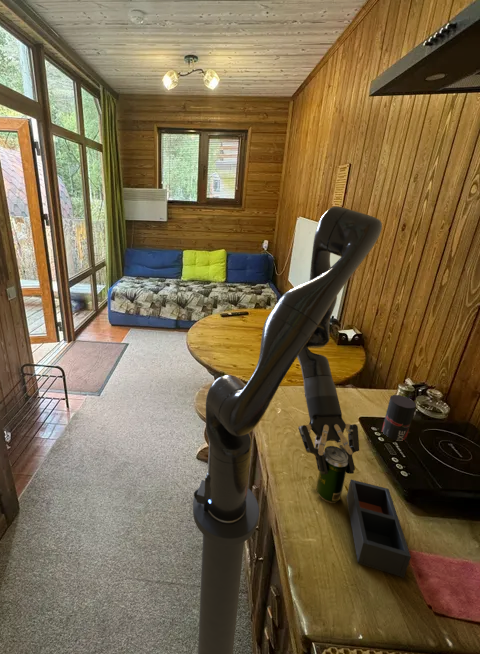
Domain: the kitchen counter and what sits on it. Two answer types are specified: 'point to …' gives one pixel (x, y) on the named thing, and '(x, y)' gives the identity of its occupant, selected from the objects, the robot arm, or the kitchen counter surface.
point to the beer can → (332, 474)
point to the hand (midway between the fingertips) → (337, 473)
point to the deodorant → (398, 417)
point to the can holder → (377, 529)
